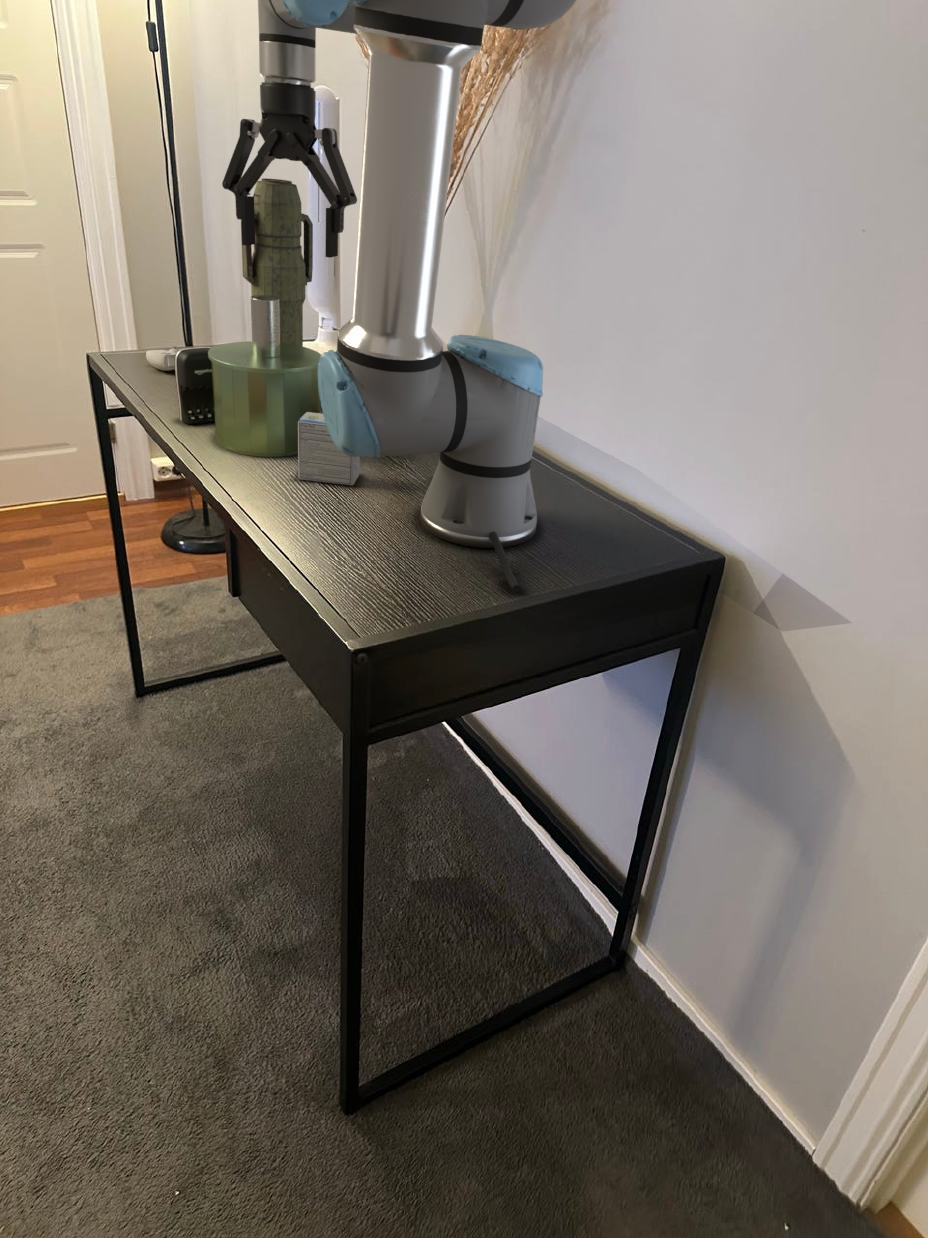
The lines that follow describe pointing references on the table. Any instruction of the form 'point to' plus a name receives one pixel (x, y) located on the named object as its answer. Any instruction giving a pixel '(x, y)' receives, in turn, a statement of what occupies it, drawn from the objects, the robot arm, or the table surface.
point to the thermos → (280, 253)
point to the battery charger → (194, 385)
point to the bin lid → (265, 345)
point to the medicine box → (322, 454)
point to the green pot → (262, 409)
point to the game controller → (162, 358)
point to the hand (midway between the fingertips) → (289, 250)
